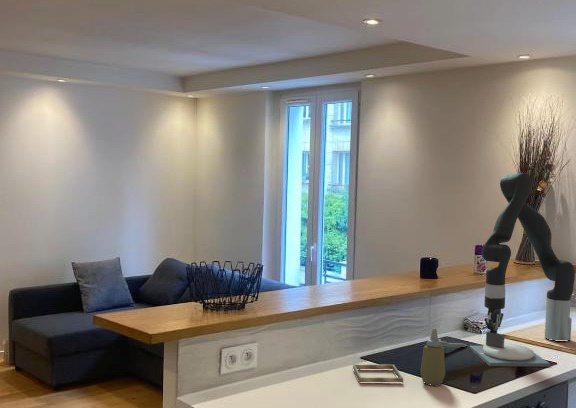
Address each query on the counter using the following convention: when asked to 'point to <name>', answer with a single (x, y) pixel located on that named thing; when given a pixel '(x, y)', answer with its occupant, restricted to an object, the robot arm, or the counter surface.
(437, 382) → the squeeze bottle
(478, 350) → the dial plate
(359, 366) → the bread board rim
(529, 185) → the robot arm
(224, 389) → the counter surface
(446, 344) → the caliper
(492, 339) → the dial
